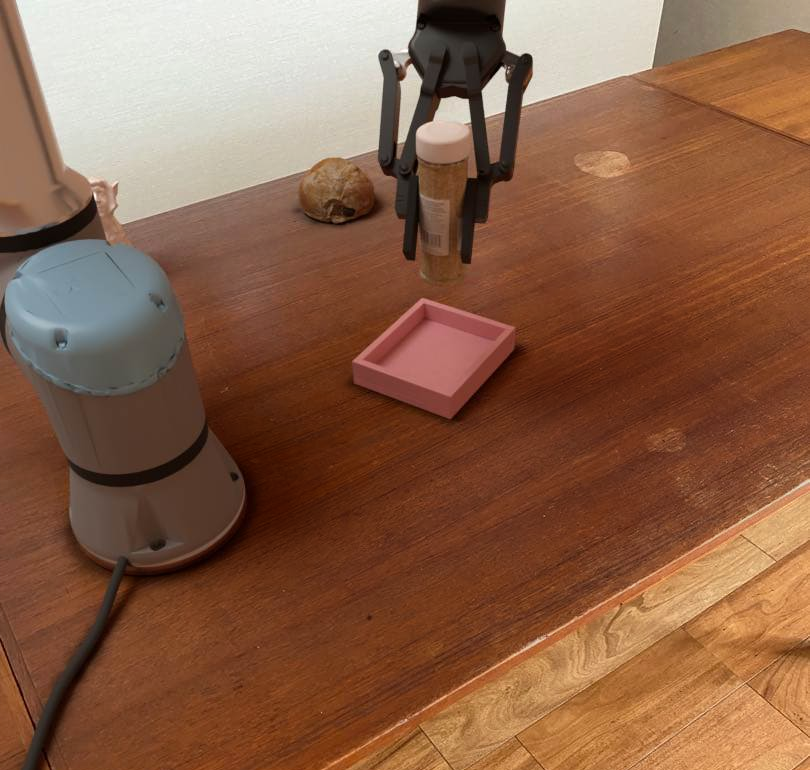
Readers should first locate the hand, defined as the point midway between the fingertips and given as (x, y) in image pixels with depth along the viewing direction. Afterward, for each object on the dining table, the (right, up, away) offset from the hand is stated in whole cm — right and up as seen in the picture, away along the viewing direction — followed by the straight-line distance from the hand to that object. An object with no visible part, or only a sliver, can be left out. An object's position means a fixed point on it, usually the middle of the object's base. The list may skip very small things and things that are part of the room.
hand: (437, 257), depth 76 cm
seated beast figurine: (-38, +7, +30) cm, 49 cm away
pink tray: (0, -6, +16) cm, 17 cm away
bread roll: (-12, +20, +41) cm, 47 cm away
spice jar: (+1, 0, +6) cm, 6 cm away
